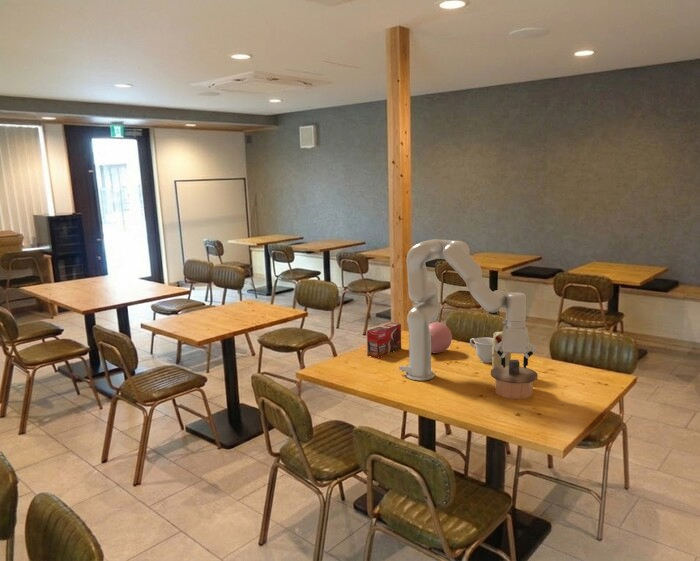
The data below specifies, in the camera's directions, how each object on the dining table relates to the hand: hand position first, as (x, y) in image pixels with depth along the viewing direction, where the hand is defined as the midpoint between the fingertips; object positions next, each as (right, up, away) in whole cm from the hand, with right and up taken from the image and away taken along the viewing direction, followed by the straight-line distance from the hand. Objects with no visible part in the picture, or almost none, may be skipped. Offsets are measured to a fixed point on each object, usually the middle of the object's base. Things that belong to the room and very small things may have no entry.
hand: (514, 366), depth 217 cm
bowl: (0, -10, +2) cm, 11 cm away
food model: (+1, -7, +22) cm, 23 cm away
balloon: (-24, -2, +55) cm, 60 cm away
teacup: (-2, -4, +42) cm, 42 cm away
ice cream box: (-48, -2, +59) cm, 76 cm away
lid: (0, -4, +1) cm, 4 cm away
